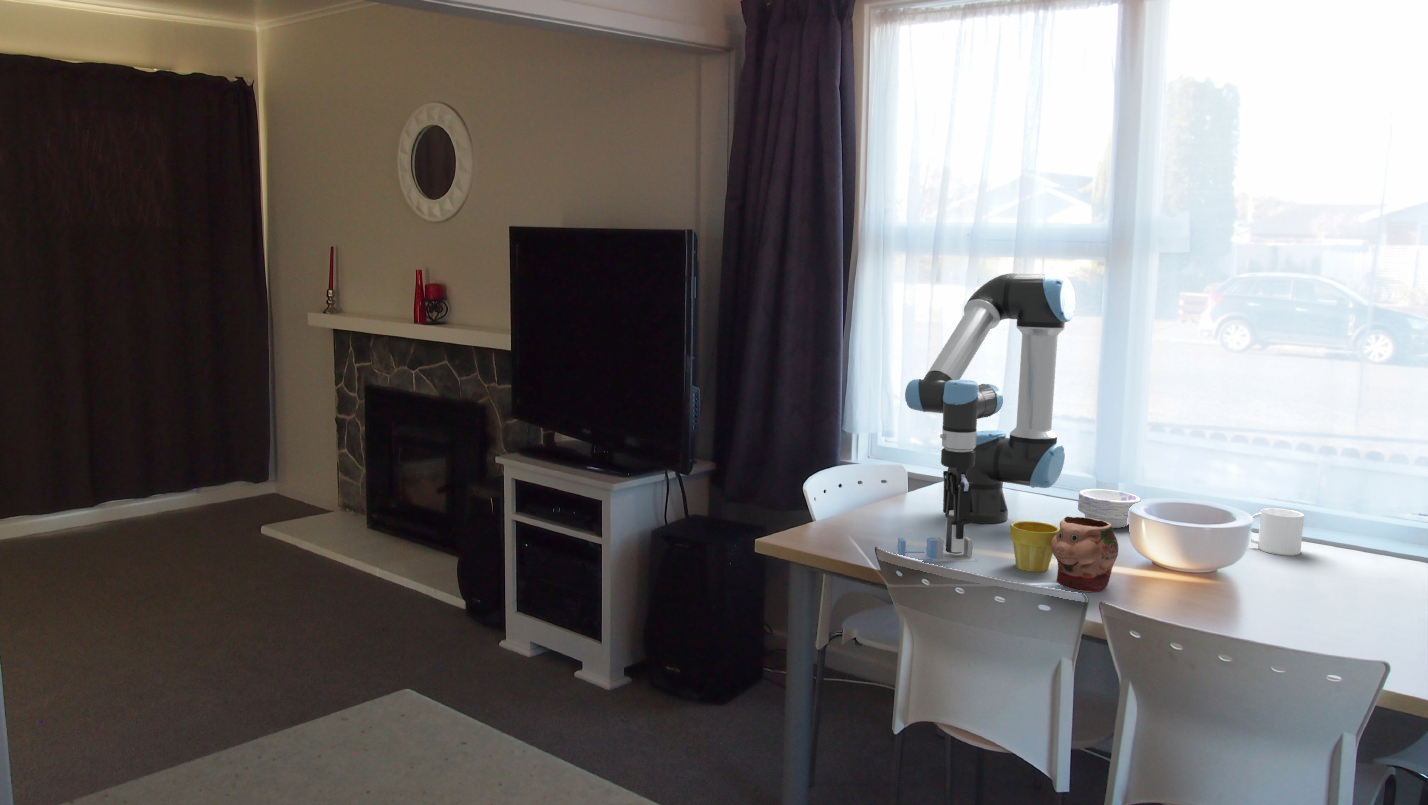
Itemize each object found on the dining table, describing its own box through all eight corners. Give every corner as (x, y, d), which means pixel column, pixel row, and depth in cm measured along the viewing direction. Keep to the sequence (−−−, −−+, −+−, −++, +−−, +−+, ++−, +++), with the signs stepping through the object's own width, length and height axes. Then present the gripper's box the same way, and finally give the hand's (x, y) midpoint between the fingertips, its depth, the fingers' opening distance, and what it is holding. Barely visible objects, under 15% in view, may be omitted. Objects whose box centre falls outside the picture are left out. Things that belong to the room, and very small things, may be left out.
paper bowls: (1151, 526, 265) (1153, 496, 264) (1115, 534, 257) (1117, 503, 256) (1100, 514, 278) (1101, 485, 277) (1064, 521, 269) (1066, 492, 268)
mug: (1303, 549, 245) (1306, 512, 244) (1297, 558, 238) (1301, 519, 237) (1247, 541, 252) (1250, 504, 251) (1240, 549, 245) (1244, 511, 244)
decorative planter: (1078, 568, 227) (1082, 507, 225) (1133, 580, 218) (1137, 517, 217) (1035, 587, 213) (1039, 522, 211) (1091, 601, 204) (1096, 534, 202)
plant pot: (1057, 565, 229) (1059, 523, 228) (1056, 578, 219) (1059, 534, 218) (1009, 560, 232) (1011, 518, 231) (1006, 573, 223) (1009, 529, 221)
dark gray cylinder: (959, 548, 236) (961, 509, 234) (964, 553, 232) (966, 513, 230) (943, 548, 235) (945, 509, 234) (948, 553, 232) (950, 513, 230)
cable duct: (965, 553, 238) (965, 534, 237) (976, 563, 230) (977, 543, 229) (893, 553, 236) (894, 534, 236) (902, 563, 228) (903, 544, 228)
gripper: (931, 442, 238) (927, 539, 241) (953, 456, 222) (949, 560, 225) (962, 441, 239) (958, 538, 242) (987, 455, 222) (982, 559, 225)
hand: (954, 548), depth 233 cm, fingers closed on dark gray cylinder, 4 cm apart
